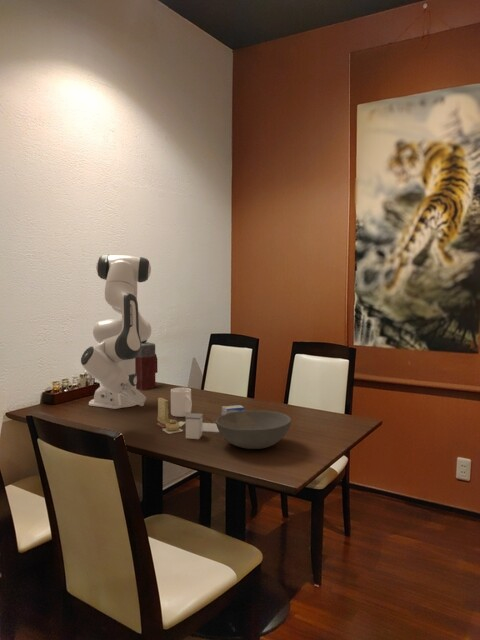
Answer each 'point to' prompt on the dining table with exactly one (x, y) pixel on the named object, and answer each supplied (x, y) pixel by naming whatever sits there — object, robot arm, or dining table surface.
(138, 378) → the red canister
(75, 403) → the dining table surface
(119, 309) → the robot arm
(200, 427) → the grey rectangular block
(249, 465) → the dining table surface
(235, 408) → the medicine box
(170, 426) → the gold angular piece
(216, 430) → the mat
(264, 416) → the bowl
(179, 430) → the marks
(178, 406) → the mug
